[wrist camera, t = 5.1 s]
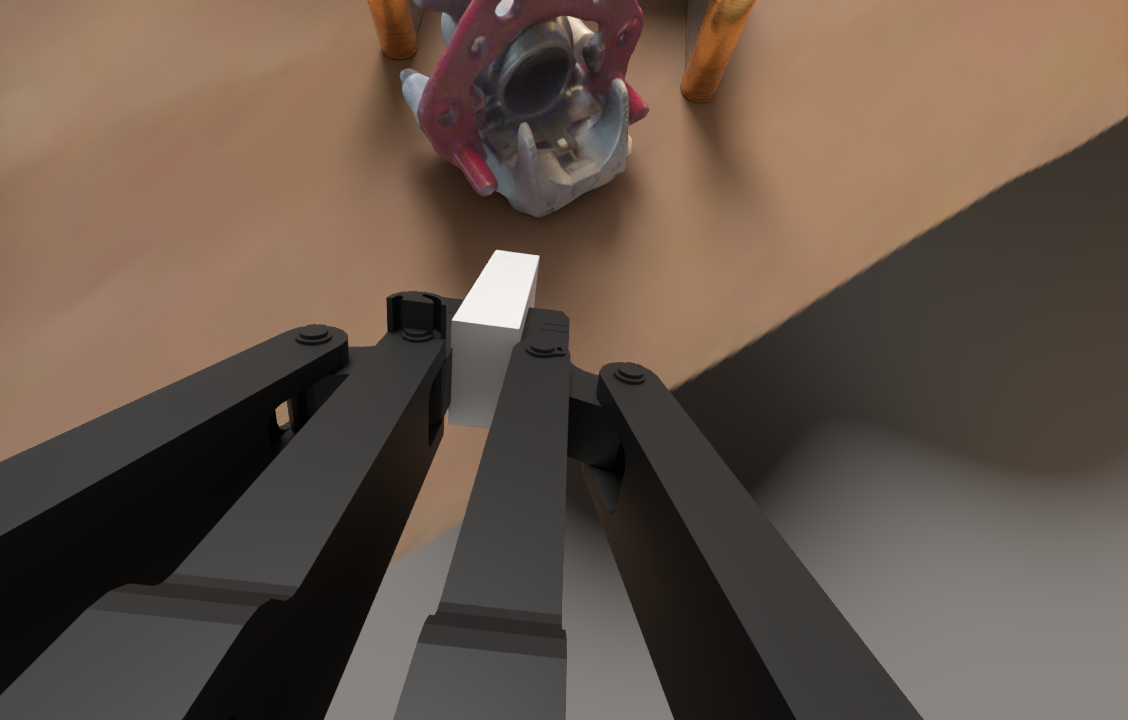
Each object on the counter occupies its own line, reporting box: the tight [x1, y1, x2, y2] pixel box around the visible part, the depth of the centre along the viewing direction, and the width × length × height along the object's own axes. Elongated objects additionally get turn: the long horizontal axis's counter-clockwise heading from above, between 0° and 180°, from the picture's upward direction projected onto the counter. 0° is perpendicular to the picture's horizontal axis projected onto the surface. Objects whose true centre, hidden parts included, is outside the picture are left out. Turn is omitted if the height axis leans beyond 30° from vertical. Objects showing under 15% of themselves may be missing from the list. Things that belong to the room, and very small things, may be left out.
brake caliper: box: [400, 0, 649, 218], centre depth 22 cm, size 11×11×12 cm
